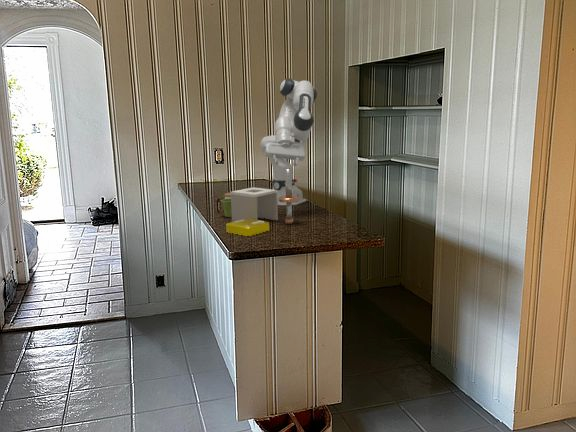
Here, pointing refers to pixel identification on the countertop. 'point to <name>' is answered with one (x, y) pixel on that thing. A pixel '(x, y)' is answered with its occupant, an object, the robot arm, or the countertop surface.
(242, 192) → the slotted white pedestal
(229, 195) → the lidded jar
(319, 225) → the countertop surface
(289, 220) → the peg
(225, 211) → the plant pot
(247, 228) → the element tile
